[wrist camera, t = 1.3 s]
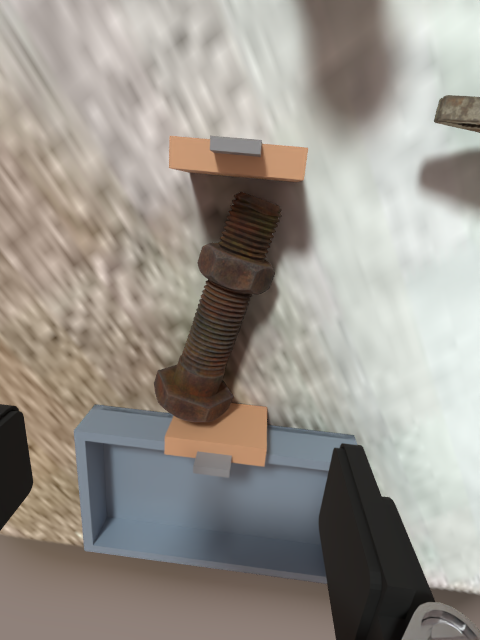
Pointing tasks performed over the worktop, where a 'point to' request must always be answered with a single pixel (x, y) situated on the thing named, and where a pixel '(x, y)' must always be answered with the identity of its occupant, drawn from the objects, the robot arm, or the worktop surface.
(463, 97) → the pliers
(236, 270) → the bolt
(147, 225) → the worktop surface
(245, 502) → the tray
